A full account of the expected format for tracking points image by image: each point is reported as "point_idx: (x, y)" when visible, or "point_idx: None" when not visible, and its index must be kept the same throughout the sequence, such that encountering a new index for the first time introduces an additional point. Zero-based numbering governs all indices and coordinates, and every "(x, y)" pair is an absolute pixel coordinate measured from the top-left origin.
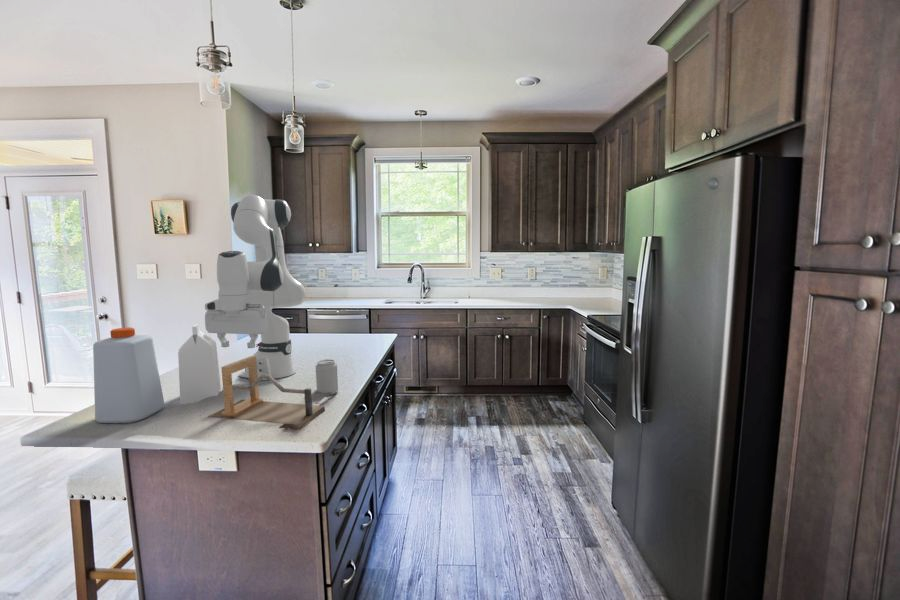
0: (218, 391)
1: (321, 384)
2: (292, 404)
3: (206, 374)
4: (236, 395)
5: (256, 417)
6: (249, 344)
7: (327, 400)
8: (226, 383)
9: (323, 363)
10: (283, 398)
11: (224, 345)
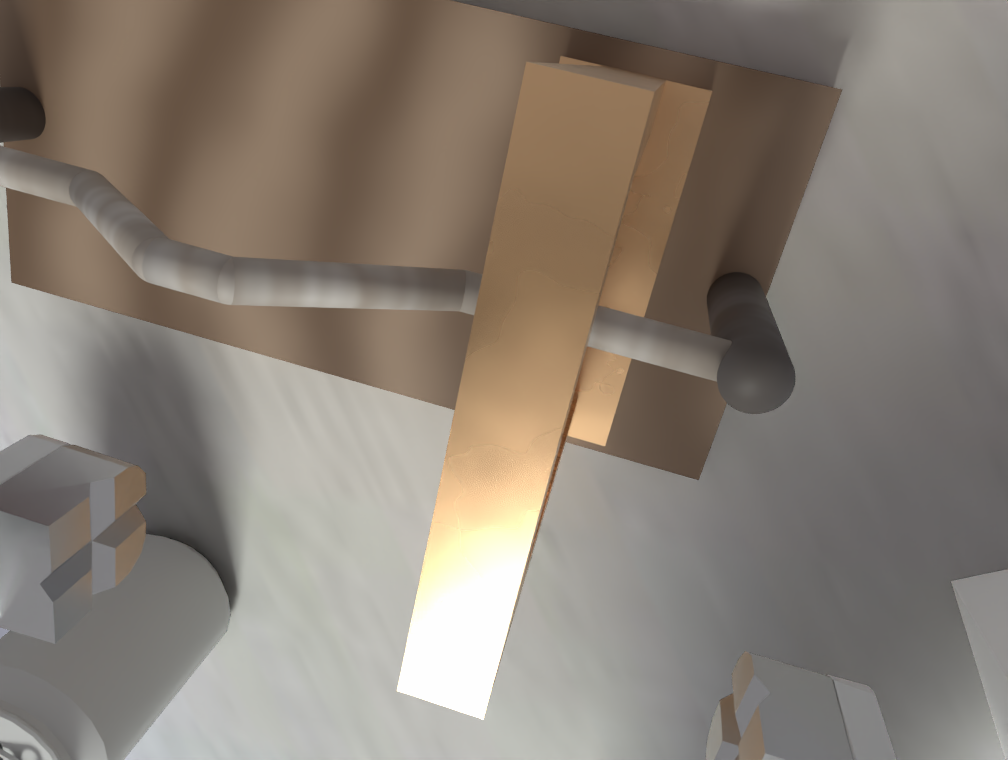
0: (986, 666)
1: (123, 581)
2: (243, 330)
3: None
4: (825, 645)
5: (382, 56)
6: (12, 480)
7: (112, 456)
8: (597, 70)
9: (16, 743)
10: (424, 531)
11: (780, 684)
